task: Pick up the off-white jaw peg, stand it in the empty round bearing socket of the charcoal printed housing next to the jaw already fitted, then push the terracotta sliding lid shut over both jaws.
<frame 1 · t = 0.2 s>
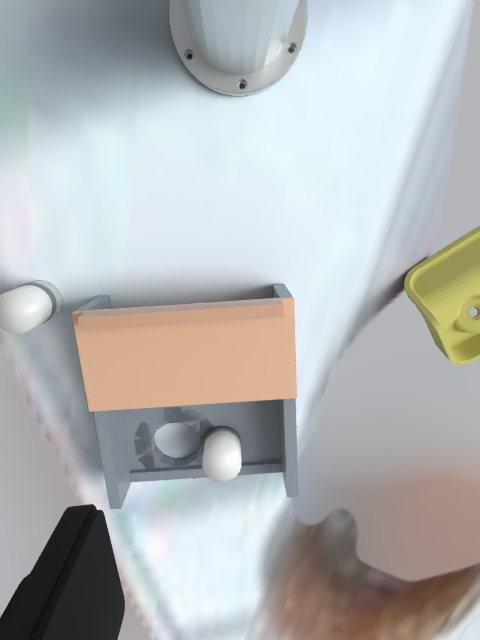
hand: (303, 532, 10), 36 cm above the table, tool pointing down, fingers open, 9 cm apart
housing: (203, 420, 49), on the table
lid: (187, 359, 38), point 8 cm above the table, slide at 11.0 cm
jaw peg: (43, 299, 45), on the table
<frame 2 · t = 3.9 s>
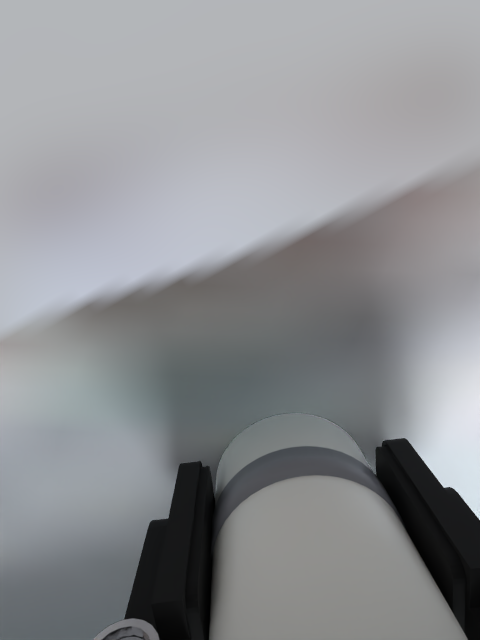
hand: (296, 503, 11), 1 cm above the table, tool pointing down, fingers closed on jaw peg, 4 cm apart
jaw peg: (291, 481, 11), on the table, touching gripper
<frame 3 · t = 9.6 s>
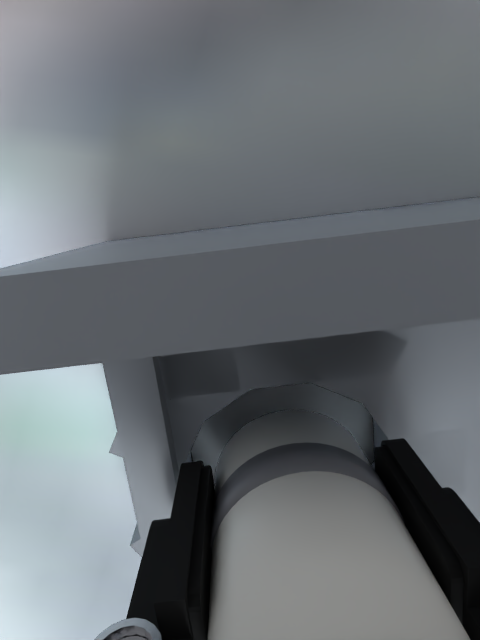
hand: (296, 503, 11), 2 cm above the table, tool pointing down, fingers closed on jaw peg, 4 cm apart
housing: (350, 525, 14), on the table
jaw peg: (290, 479, 11), point 2 cm above the table, touching gripper
when the fingers open (2 cm above the table, at t = 9.7 s): jaw peg drops 2 cm, resting in housing.
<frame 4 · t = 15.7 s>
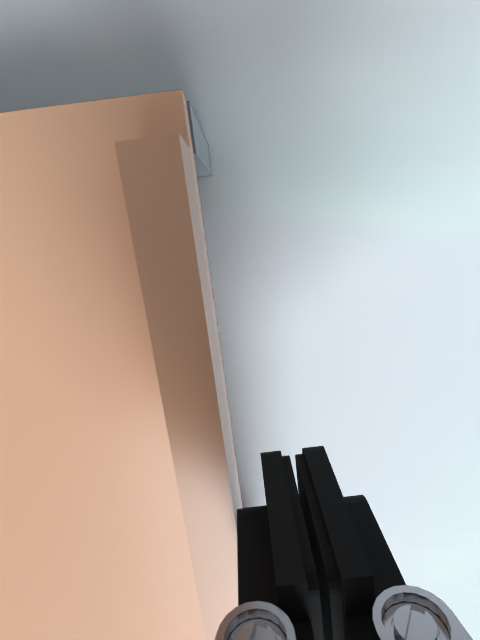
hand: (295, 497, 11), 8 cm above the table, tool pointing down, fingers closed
lid: (55, 520, 11), point 8 cm above the table, slide at 10.9 cm, touching gripper
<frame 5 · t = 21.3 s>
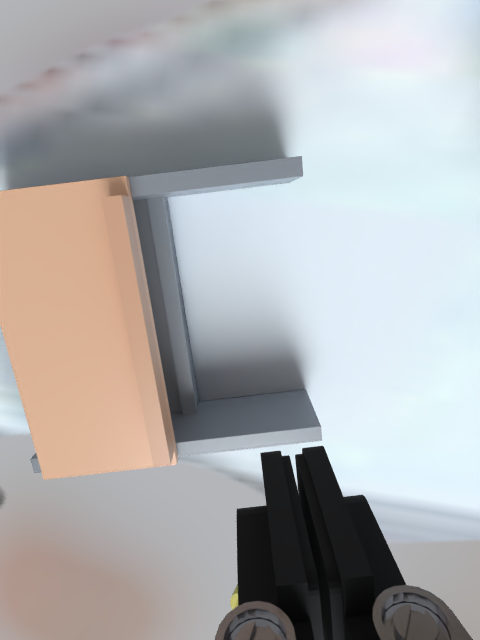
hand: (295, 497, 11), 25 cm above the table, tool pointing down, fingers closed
housing: (112, 314, 35), on the table
lid: (77, 344, 27), point 8 cm above the table, slide at 0.0 cm
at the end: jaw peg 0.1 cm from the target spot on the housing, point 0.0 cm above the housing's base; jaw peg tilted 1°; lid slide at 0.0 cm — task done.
